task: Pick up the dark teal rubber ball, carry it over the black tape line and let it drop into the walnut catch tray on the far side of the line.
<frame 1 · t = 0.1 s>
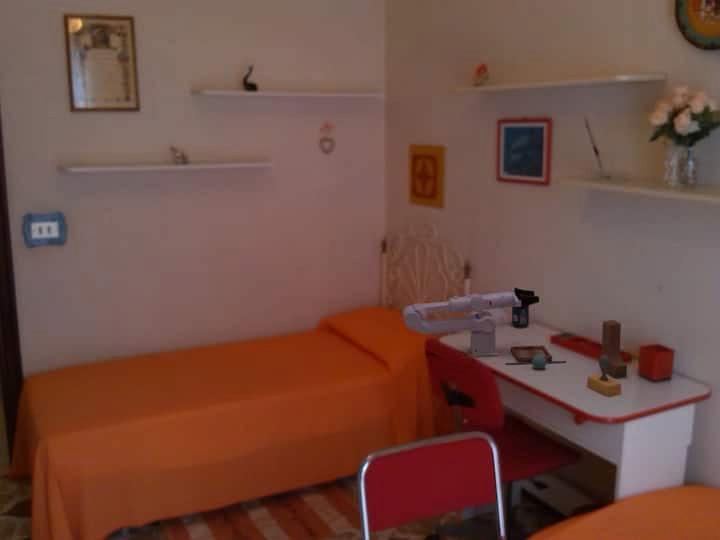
hand: (536, 296, 266), 22 cm above the table, tool horizontal, fingers open, 7 cm apart
soda can: (520, 326, 302), on the table
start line: (535, 363, 258), on the table
rubber stamp: (603, 390, 232), on the table
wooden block: (613, 374, 245), on the table
ball: (539, 361, 252), point 2 cm above the table
catch tray: (530, 356, 266), on the table
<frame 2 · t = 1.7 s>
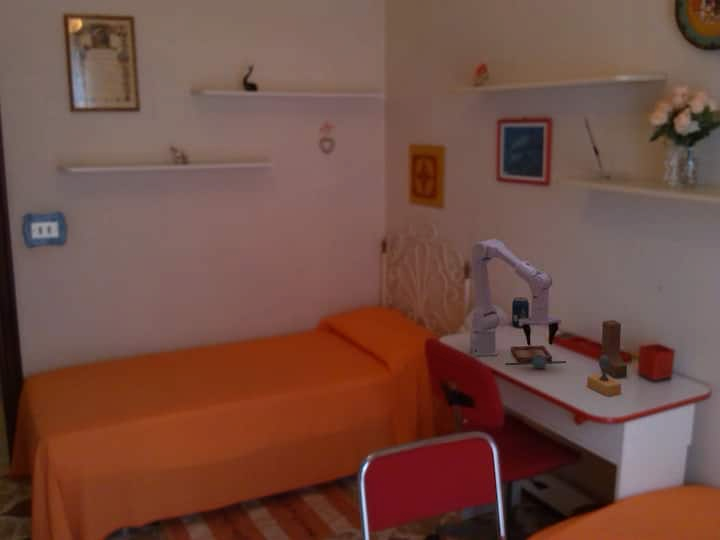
hand: (539, 344, 251), 9 cm above the table, tool pointing down, fingers open, 7 cm apart
nothing on the table moved.
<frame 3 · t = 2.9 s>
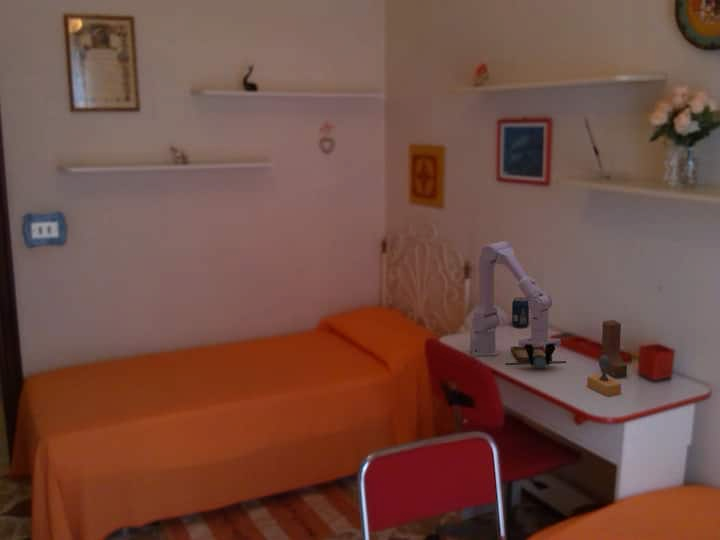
hand: (539, 364, 253), 1 cm above the table, tool pointing down, fingers closed on ball, 5 cm apart
ball: (539, 361, 252), point 2 cm above the table, touching gripper
everything else where it was.
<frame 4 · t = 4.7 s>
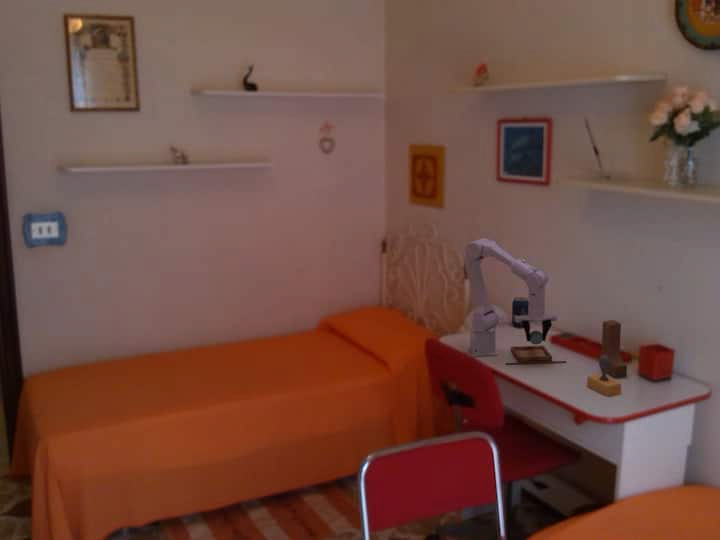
hand: (535, 340, 256), 9 cm above the table, tool pointing down, fingers closed on ball, 5 cm apart
ball: (535, 337, 256), point 10 cm above the table, touching gripper
everything else where it was.
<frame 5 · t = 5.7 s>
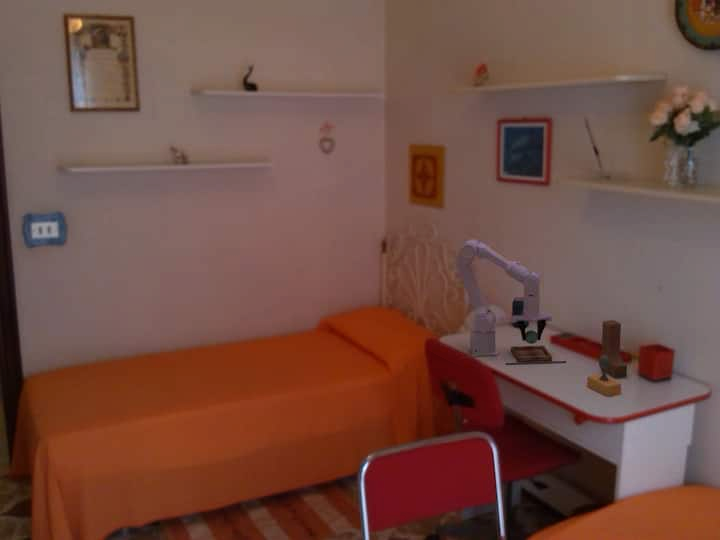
hand: (531, 339, 264), 6 cm above the table, tool pointing down, fingers closed on ball, 5 cm apart
ball: (531, 337, 264), point 7 cm above the table, touching gripper
everything else where it was.
when the fingers open (4 cm above the table, at t = 6.6 s): ball drops 2 cm, resting on catch tray.
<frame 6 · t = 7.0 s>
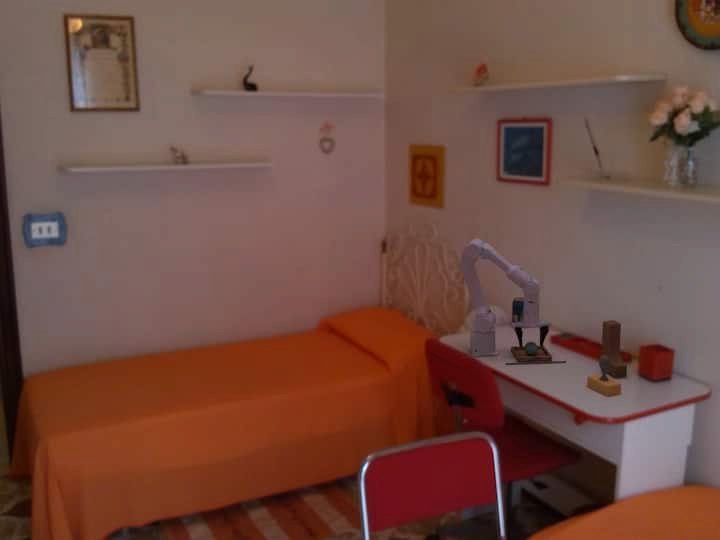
hand: (531, 346, 265), 4 cm above the table, tool pointing down, fingers open, 7 cm apart
ball: (531, 348, 265), point 3 cm above the table, touching catch tray
everything else where it was.
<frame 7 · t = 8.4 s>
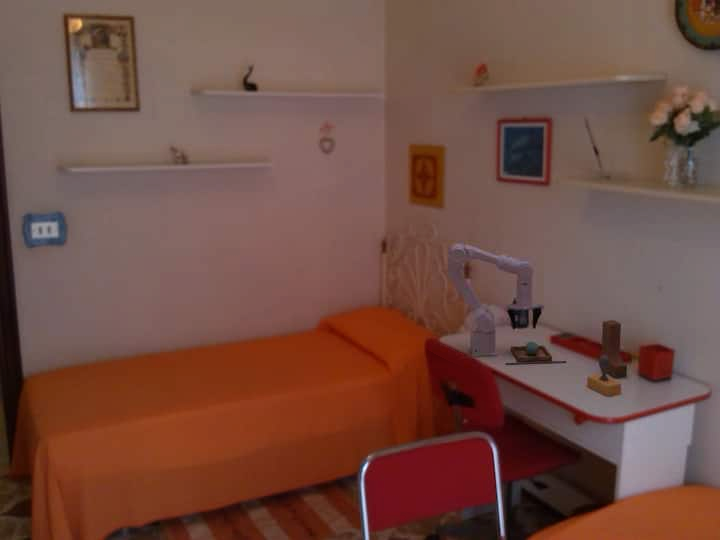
hand: (523, 328, 267), 10 cm above the table, tool pointing down, fingers open, 7 cm apart
ball: (531, 348, 265), point 3 cm above the table, tilted 7°, touching catch tray
everything else where it was.
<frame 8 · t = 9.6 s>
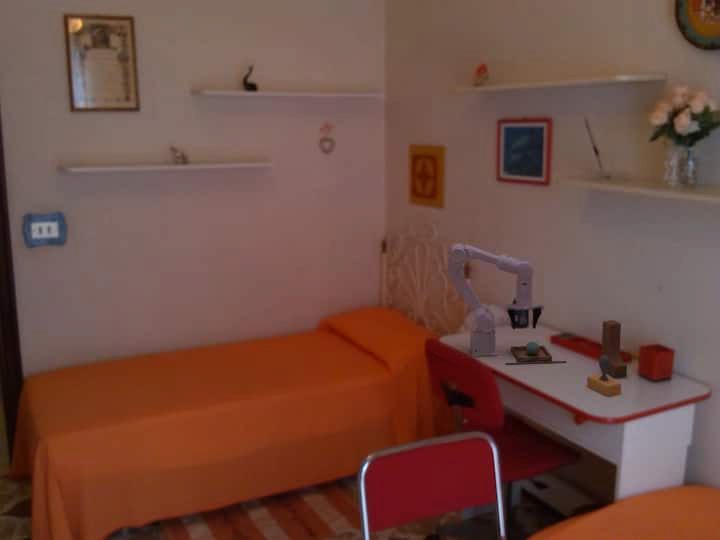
hand: (523, 328, 267), 10 cm above the table, tool pointing down, fingers open, 7 cm apart
ball: (532, 348, 265), point 3 cm above the table, tilted 12°, touching catch tray
everything else where it was.
at the end: ball 0.6 cm off-centre on the catch tray, point 3.0 cm above the catch tray's base; ball inside the target area (0.7 cm from its centre), point 3.0 cm above the table; the gripper is holding nothing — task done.
